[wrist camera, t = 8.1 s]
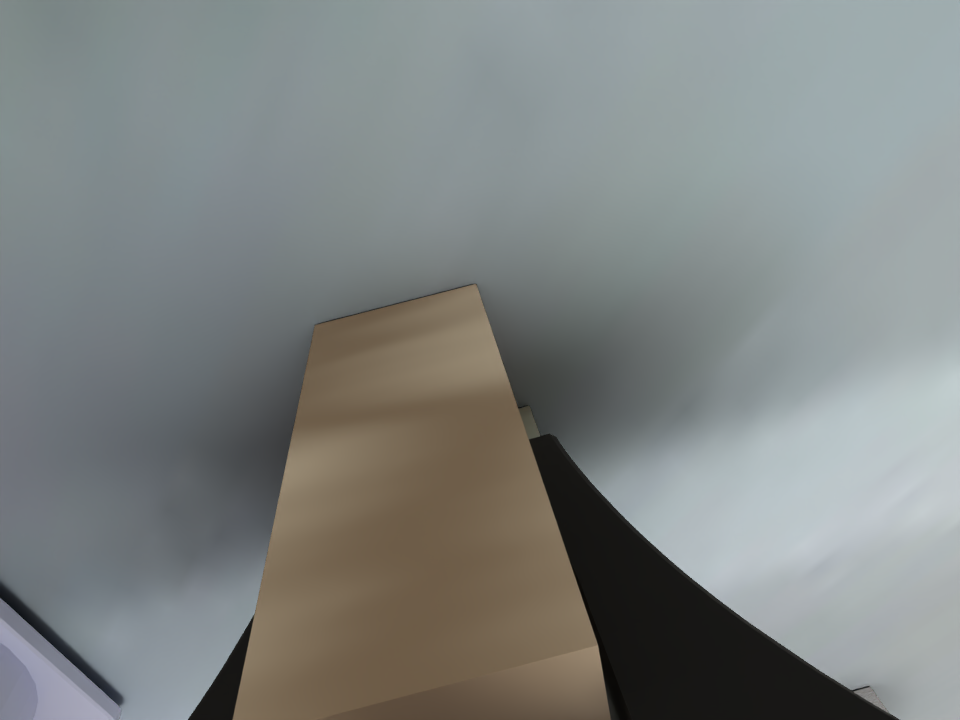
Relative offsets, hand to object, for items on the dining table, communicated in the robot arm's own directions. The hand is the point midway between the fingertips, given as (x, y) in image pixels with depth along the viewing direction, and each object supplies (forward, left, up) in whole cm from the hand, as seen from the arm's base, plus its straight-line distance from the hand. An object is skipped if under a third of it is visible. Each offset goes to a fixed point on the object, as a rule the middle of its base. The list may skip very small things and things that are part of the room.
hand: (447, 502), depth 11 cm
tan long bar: (0, -7, -2) cm, 8 cm away
